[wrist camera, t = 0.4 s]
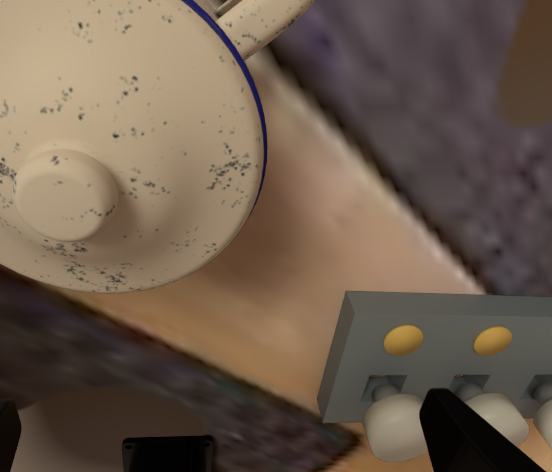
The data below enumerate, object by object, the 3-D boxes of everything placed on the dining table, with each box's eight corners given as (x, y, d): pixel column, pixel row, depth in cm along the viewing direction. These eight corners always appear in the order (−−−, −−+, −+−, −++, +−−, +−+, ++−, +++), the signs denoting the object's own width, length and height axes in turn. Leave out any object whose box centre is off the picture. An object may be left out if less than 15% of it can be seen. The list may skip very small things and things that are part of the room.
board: (546, 395, 34) (564, 419, 32) (316, 398, 31) (323, 425, 29) (612, 298, 29) (639, 320, 27) (345, 290, 26) (355, 315, 24)
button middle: (483, 409, 30) (512, 457, 27) (431, 410, 30) (455, 459, 27) (506, 371, 28) (540, 417, 25) (451, 371, 28) (479, 419, 25)
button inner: (404, 411, 29) (426, 460, 26) (349, 412, 29) (364, 463, 26) (422, 371, 27) (447, 419, 24) (363, 371, 27) (381, 421, 24)
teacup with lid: (138, 212, 22) (72, 411, 12) (-22, 53, 17) (-341, 161, 7) (341, 70, 19) (471, 173, 9) (216, -159, 15) (213, -424, 5)
